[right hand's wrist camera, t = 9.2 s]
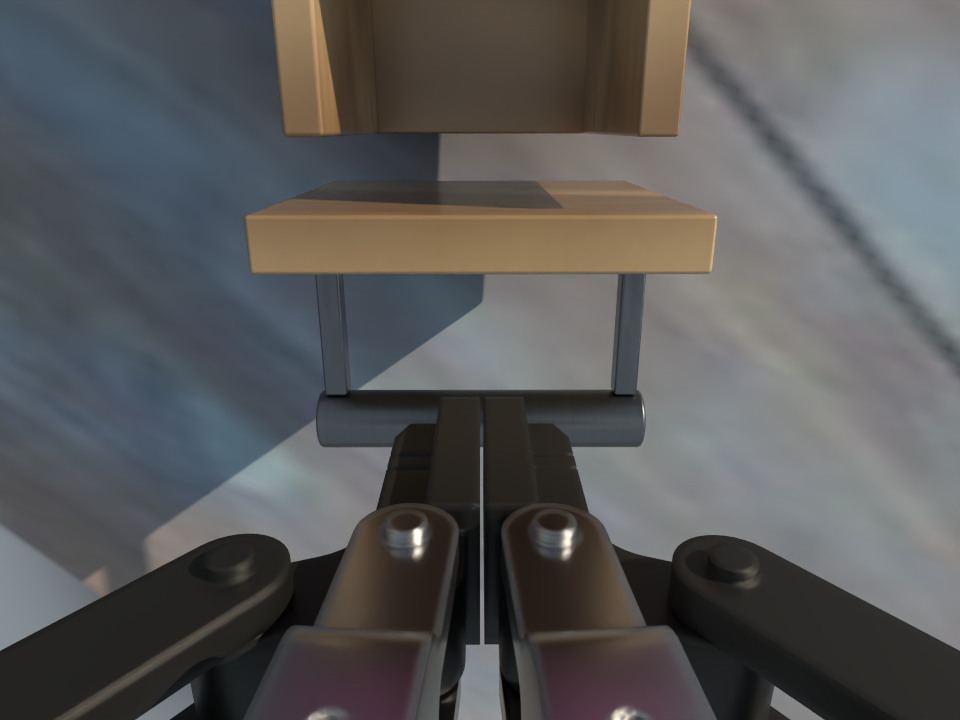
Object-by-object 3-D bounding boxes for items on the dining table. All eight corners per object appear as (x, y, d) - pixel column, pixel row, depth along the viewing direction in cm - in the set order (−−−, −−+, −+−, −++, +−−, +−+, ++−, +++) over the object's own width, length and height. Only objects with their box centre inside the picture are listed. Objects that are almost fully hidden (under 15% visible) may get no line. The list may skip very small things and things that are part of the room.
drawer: (612, 376, 24) (684, 513, 15) (348, 377, 24) (277, 513, 15) (663, -368, 17) (844, -850, 9) (295, -368, 17) (116, -849, 9)
